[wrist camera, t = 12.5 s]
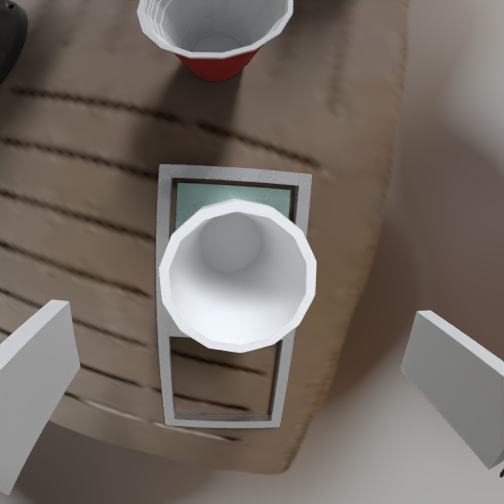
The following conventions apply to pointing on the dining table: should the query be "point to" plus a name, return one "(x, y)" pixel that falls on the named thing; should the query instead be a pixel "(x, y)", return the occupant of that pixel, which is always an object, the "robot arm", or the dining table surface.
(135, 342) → the dining table surface
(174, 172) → the grey flat rectangular frame
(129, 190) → the dining table surface
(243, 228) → the foam cup
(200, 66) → the plastic cup
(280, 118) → the dining table surface
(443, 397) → the robot arm
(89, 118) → the dining table surface
